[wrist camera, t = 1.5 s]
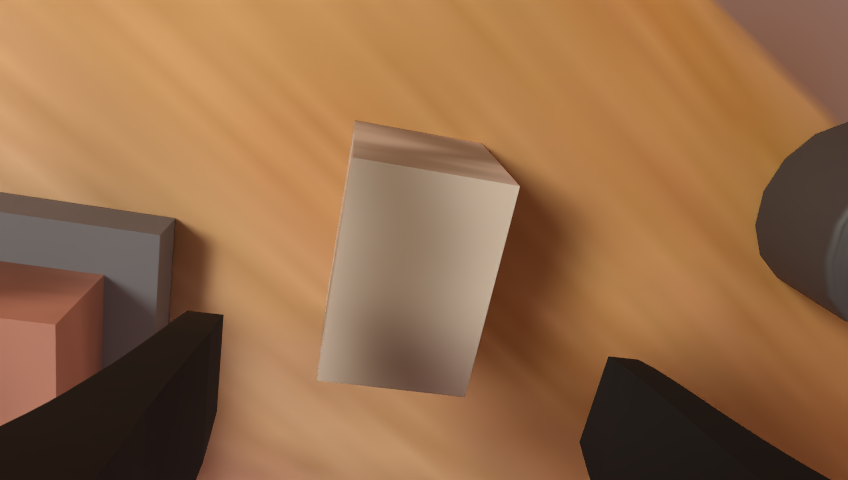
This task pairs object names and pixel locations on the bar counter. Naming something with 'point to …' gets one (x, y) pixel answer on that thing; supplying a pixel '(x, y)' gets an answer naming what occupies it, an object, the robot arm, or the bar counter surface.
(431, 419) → the bar counter surface
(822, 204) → the candle holder
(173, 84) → the bar counter surface
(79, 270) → the base plate
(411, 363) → the ash brick
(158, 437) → the robot arm
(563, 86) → the bar counter surface
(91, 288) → the terracotta brick
